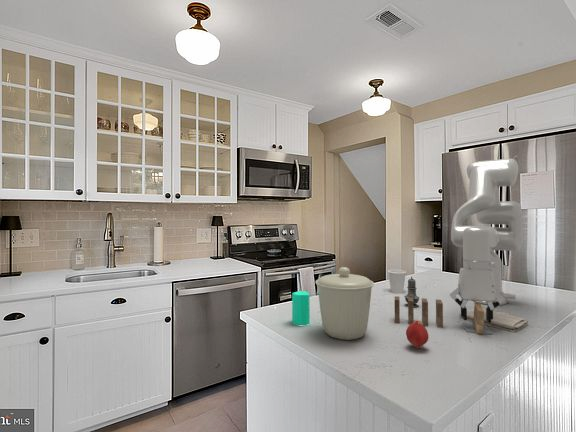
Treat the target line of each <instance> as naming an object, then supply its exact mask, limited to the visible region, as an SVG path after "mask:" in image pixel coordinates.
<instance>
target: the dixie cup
mask: <svg viewBox="0 0 576 432" xmlns="http://www.w3.org/2000/svg"><path fill="white" fill-rule="evenodd" d="M387 272H388V278H389V279H388V280H389V286H390V292H391V293H394V294H403V293H404V288H405V281H406V273H407V271H405V270H402V269H388V270H387Z"/></svg>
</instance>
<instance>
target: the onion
mask: <svg viewBox="0 0 576 432" xmlns="http://www.w3.org/2000/svg"><path fill="white" fill-rule="evenodd" d="M405 335H406V339H407V341H408V342H409V343H410V344H411V346H413V347H414V348H415V349H420V348H422V347H423V346H424V345H425V344H427V342H428V341H429V338H430V337H429V332H428V330H427V327H426V326H423V324H422V322H420V320H419V319H415V321H414V323H412V324H408V327H407V328H406V330H405Z"/></svg>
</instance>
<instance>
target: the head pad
mask: <svg viewBox="0 0 576 432" xmlns="http://www.w3.org/2000/svg"><path fill="white" fill-rule="evenodd" d="M461 323H462V326H463V328H464V329H465V331H466V332H467V333H473V334H474V333H476V330H475V327H474V325H473V323H472V322H471V323H470V322H461ZM476 334H477V333H476ZM483 334H485V335H493V332H492V331H491V329H490V328H489V327H488V326H487V325H483Z"/></svg>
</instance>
